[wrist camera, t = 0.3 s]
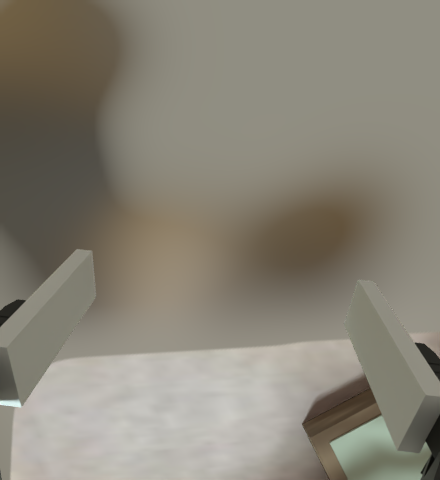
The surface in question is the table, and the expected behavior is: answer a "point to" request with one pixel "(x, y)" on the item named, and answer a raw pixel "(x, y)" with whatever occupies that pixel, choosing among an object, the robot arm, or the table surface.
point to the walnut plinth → (361, 444)
